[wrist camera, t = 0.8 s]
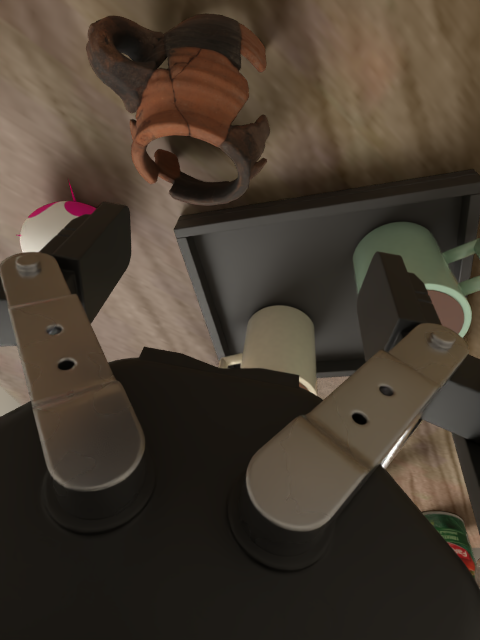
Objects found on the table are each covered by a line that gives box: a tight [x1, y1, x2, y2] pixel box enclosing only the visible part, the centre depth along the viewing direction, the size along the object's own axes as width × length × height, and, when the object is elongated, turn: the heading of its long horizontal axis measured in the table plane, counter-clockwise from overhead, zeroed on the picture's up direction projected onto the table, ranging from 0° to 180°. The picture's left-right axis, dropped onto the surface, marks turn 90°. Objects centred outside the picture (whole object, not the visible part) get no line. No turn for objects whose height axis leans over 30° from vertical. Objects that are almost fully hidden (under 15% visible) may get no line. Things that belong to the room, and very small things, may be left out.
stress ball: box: [18, 180, 96, 253], centre depth 33 cm, size 8×8×7 cm
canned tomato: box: [423, 511, 476, 579], centre depth 56 cm, size 8×8×11 cm
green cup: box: [352, 222, 480, 338], centre depth 28 cm, size 9×6×8 cm
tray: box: [174, 169, 480, 378], centre depth 35 cm, size 18×22×2 cm
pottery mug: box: [86, 14, 270, 206], centre depth 25 cm, size 12×10×8 cm
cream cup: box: [218, 305, 318, 396], centre depth 35 cm, size 9×6×8 cm
